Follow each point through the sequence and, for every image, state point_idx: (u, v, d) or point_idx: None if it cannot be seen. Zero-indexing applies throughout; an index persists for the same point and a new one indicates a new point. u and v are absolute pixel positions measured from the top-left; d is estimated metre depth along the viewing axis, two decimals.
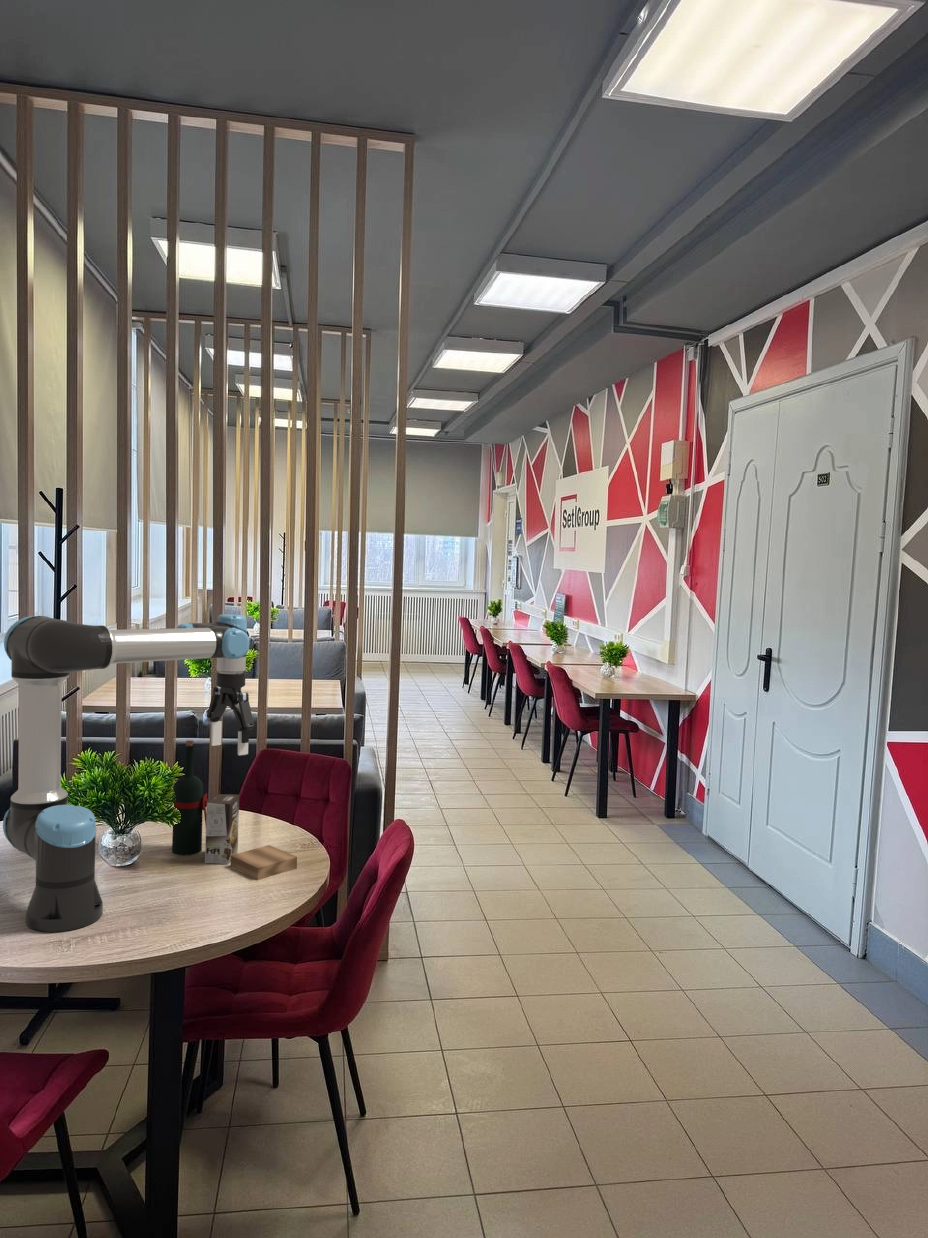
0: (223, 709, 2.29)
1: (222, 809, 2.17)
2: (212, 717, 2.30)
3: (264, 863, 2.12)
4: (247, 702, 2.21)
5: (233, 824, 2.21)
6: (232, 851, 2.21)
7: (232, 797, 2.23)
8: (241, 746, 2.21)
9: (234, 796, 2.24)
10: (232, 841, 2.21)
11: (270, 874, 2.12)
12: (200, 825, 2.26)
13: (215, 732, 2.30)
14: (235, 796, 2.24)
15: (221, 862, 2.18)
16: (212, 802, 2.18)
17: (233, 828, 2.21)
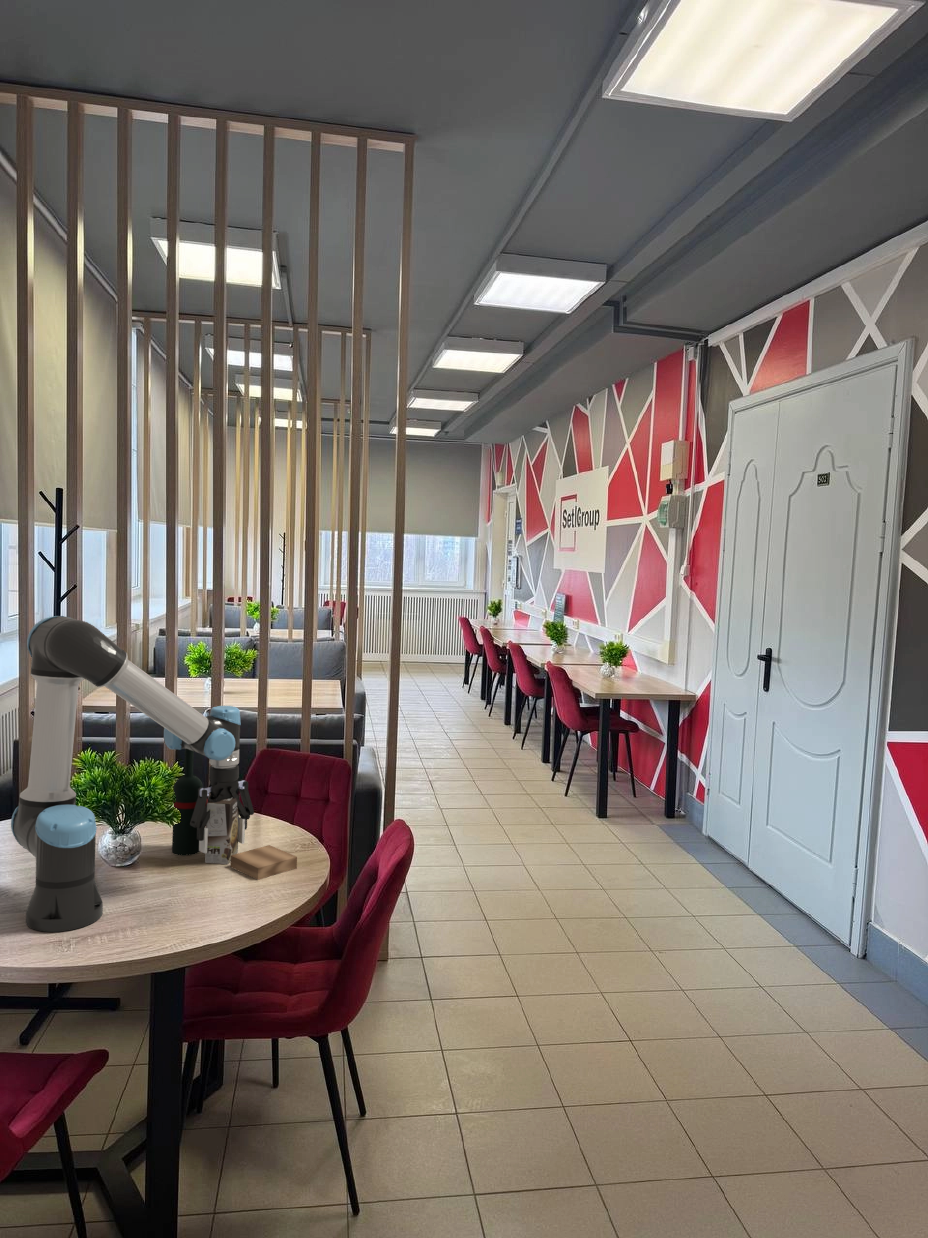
0: None
1: (222, 809, 2.17)
2: None
3: (264, 863, 2.12)
4: (201, 799, 2.16)
5: (233, 824, 2.21)
6: (232, 851, 2.21)
7: (232, 797, 2.23)
8: (200, 843, 2.18)
9: None
10: (232, 841, 2.21)
11: (270, 874, 2.12)
12: None
13: (238, 828, 2.27)
14: None
15: (221, 862, 2.18)
16: (212, 802, 2.18)
17: (233, 828, 2.21)
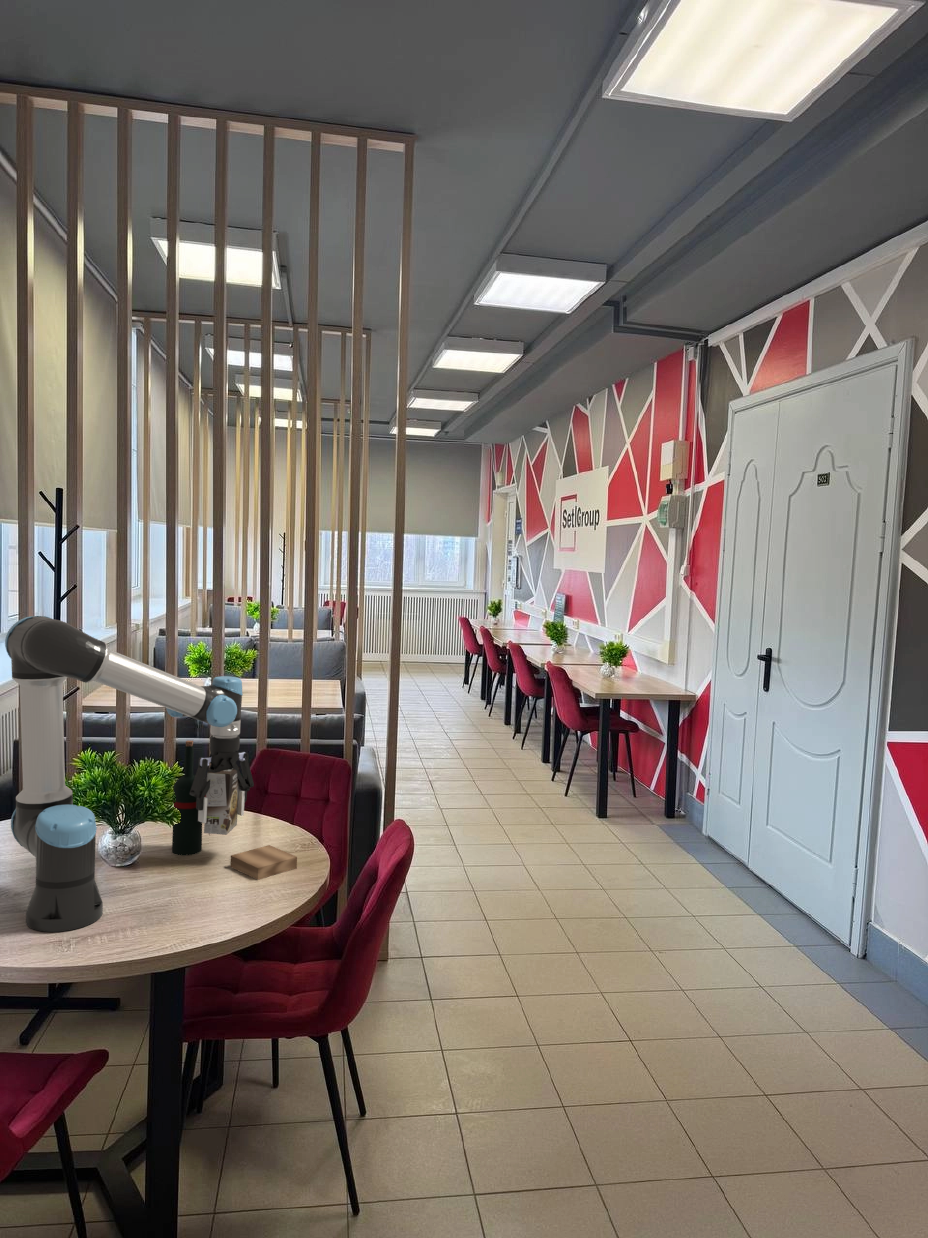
0: None
1: (222, 779, 2.17)
2: None
3: (264, 863, 2.12)
4: (202, 769, 2.15)
5: (233, 795, 2.20)
6: (231, 823, 2.20)
7: (232, 768, 2.22)
8: (199, 813, 2.17)
9: None
10: (232, 812, 2.20)
11: (270, 874, 2.12)
12: (200, 825, 2.26)
13: None
14: None
15: (220, 833, 2.17)
16: (212, 772, 2.17)
17: (232, 799, 2.20)
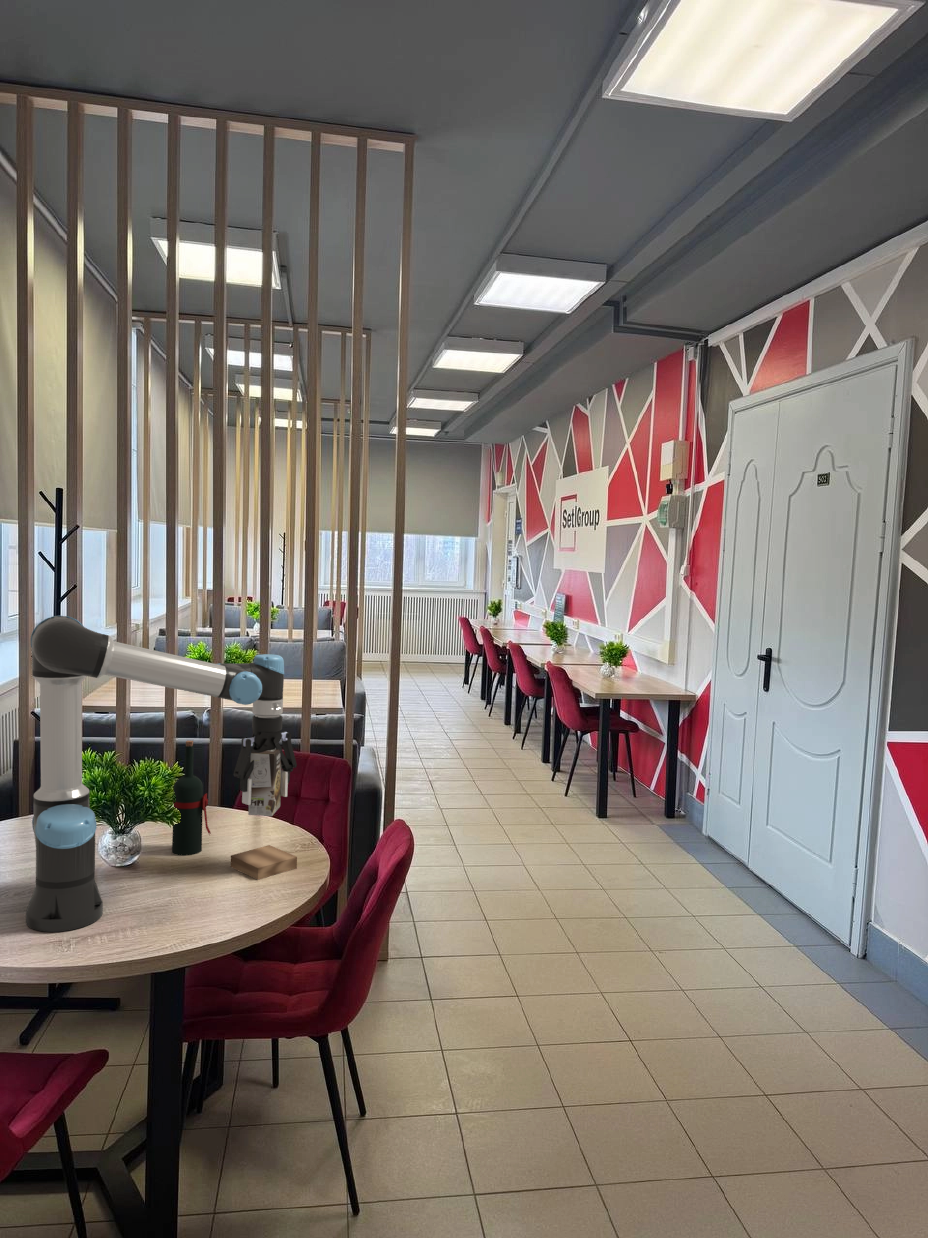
0: None
1: (266, 759, 2.11)
2: None
3: (264, 863, 2.12)
4: (245, 749, 2.09)
5: (277, 776, 2.15)
6: (275, 804, 2.15)
7: (275, 748, 2.17)
8: (243, 794, 2.12)
9: None
10: (276, 793, 2.14)
11: (270, 874, 2.12)
12: (200, 825, 2.26)
13: (281, 781, 2.20)
14: None
15: (265, 814, 2.12)
16: None
17: (276, 779, 2.14)
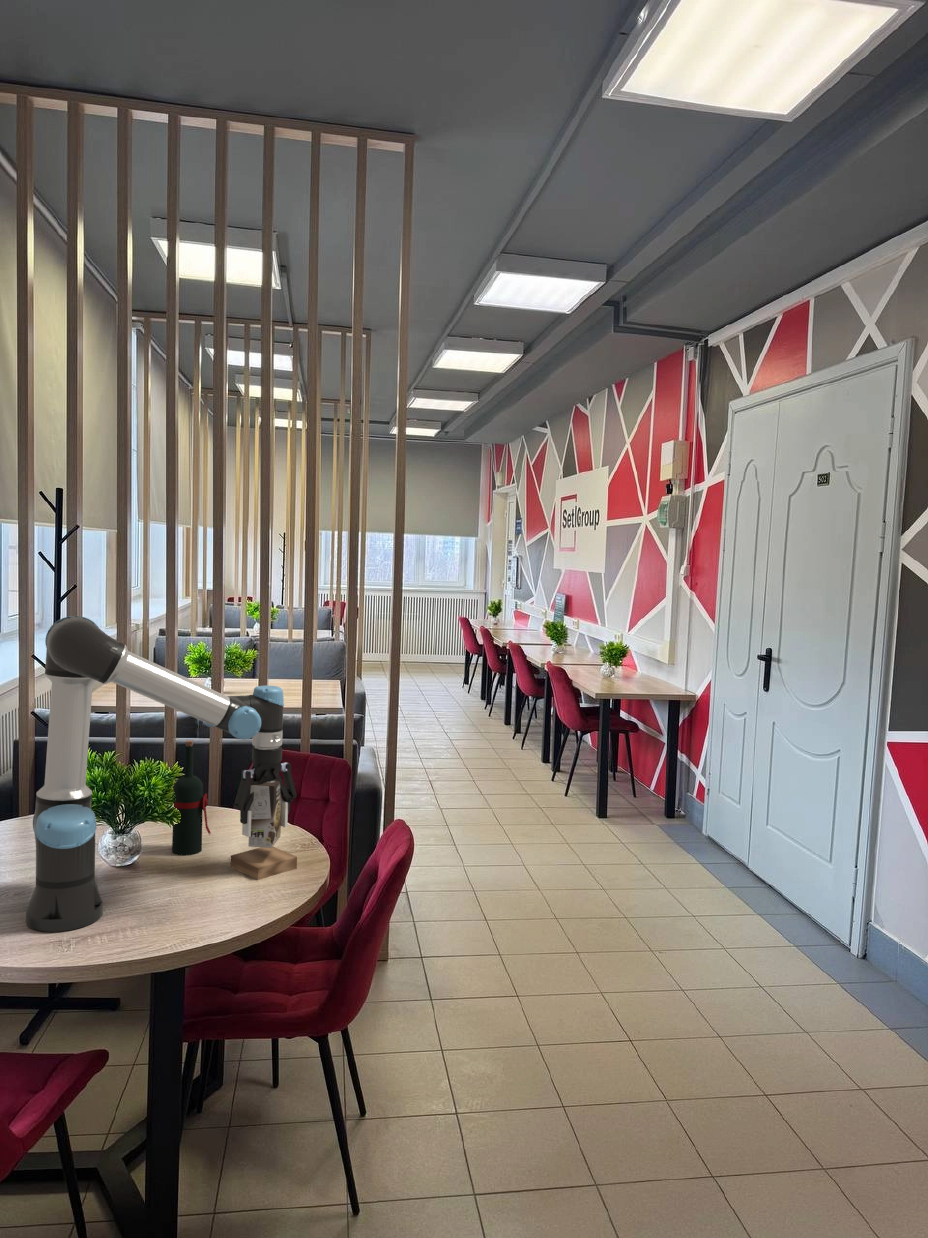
0: None
1: (266, 791, 2.11)
2: None
3: (264, 863, 2.12)
4: (245, 781, 2.10)
5: (277, 807, 2.15)
6: (275, 835, 2.15)
7: (275, 779, 2.17)
8: (243, 826, 2.12)
9: None
10: (276, 824, 2.15)
11: (270, 874, 2.12)
12: (200, 825, 2.26)
13: (281, 812, 2.21)
14: None
15: (265, 846, 2.12)
16: (256, 784, 2.12)
17: (276, 810, 2.15)
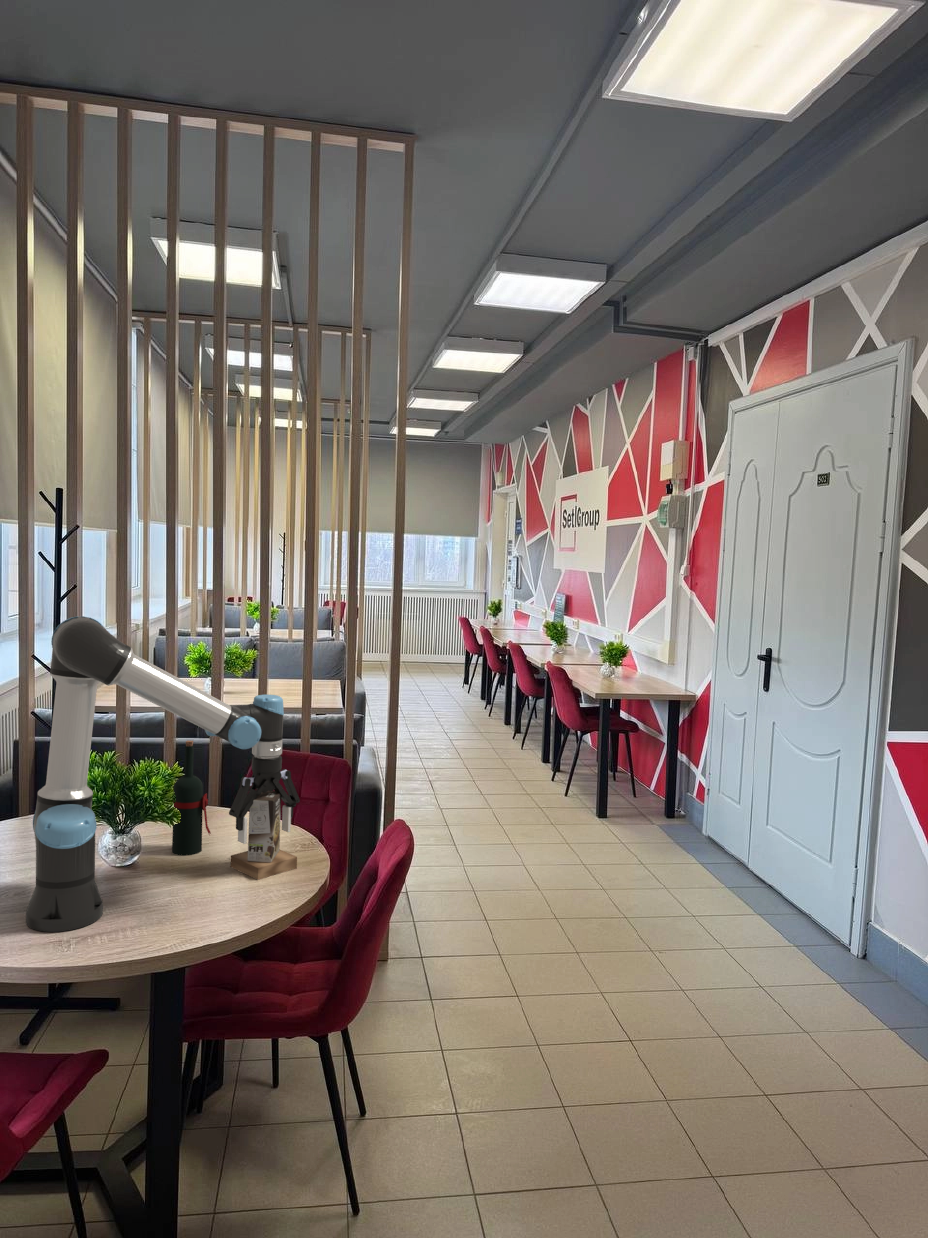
0: (280, 794, 2.19)
1: (265, 806, 2.12)
2: None
3: (264, 863, 2.12)
4: (244, 788, 2.10)
5: (276, 821, 2.15)
6: (274, 849, 2.15)
7: (274, 794, 2.17)
8: (239, 833, 2.11)
9: (276, 793, 2.18)
10: (275, 839, 2.15)
11: (270, 874, 2.12)
12: (200, 825, 2.26)
13: (284, 817, 2.22)
14: (277, 793, 2.19)
15: (264, 860, 2.12)
16: (255, 799, 2.12)
17: (275, 825, 2.15)
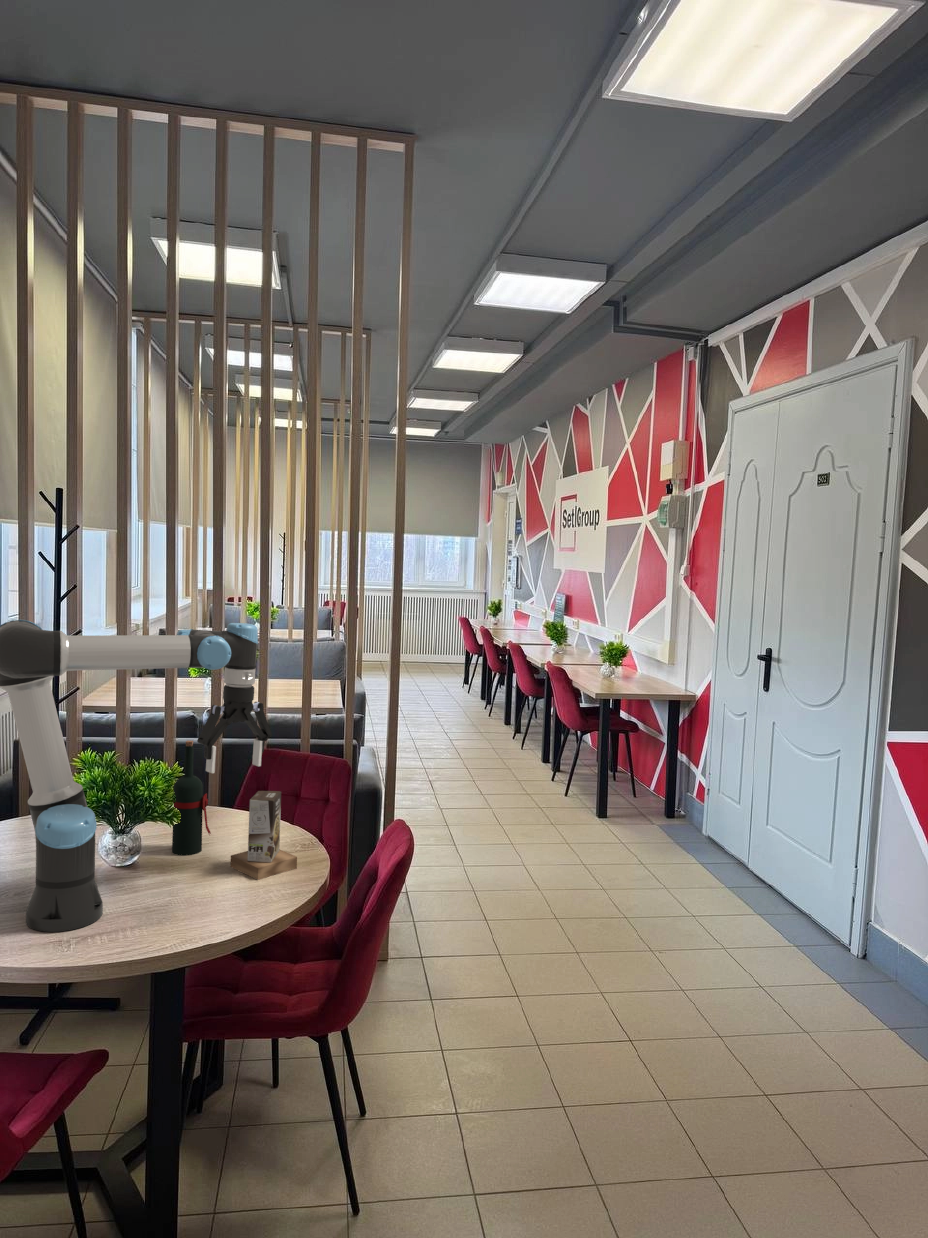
0: (252, 727, 2.13)
1: (265, 806, 2.12)
2: None
3: (264, 863, 2.12)
4: (214, 716, 2.04)
5: (276, 821, 2.15)
6: (274, 849, 2.15)
7: (274, 794, 2.17)
8: (207, 762, 2.06)
9: (276, 793, 2.18)
10: (275, 839, 2.15)
11: (270, 874, 2.12)
12: (200, 825, 2.26)
13: (255, 751, 2.16)
14: (277, 793, 2.18)
15: (264, 860, 2.12)
16: (255, 799, 2.12)
17: (275, 825, 2.15)
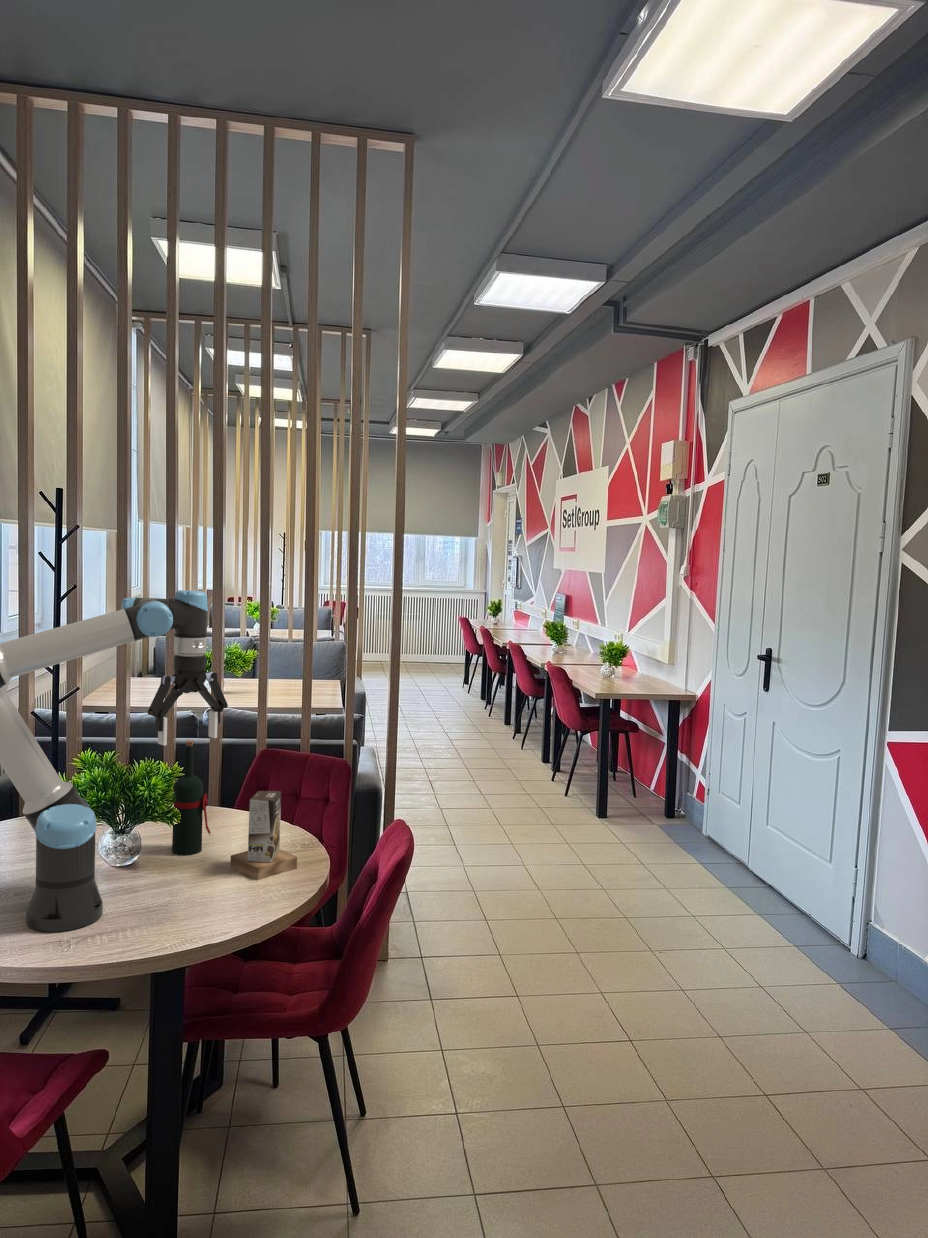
0: (206, 697, 2.07)
1: (265, 806, 2.12)
2: None
3: (264, 863, 2.12)
4: (163, 686, 1.98)
5: (276, 821, 2.15)
6: (274, 849, 2.15)
7: (274, 794, 2.17)
8: (159, 734, 1.99)
9: (276, 793, 2.18)
10: (275, 839, 2.15)
11: (270, 874, 2.12)
12: (200, 825, 2.26)
13: (210, 722, 2.09)
14: (277, 793, 2.18)
15: (264, 860, 2.12)
16: (255, 799, 2.12)
17: (275, 825, 2.15)
